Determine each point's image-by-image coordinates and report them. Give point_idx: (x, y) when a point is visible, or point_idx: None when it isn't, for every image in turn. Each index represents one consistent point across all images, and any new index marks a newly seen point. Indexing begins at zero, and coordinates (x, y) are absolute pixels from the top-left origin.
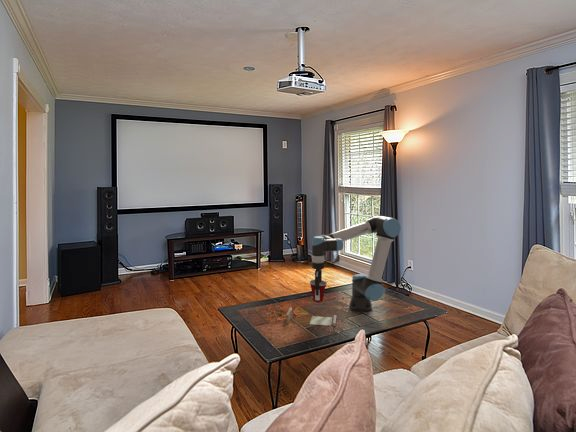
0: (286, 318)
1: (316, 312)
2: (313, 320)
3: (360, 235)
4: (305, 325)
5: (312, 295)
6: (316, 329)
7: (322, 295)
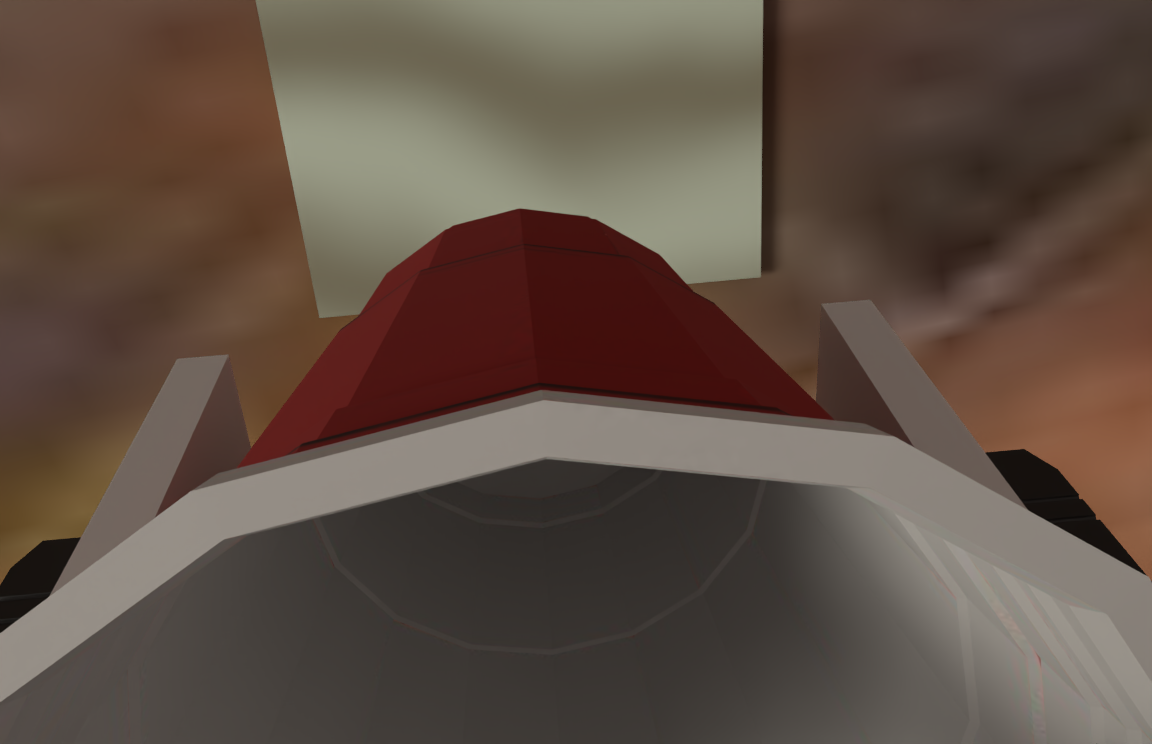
0: None
1: (28, 276)
2: None
3: None
4: (814, 333)
5: (650, 640)
6: (988, 86)
7: (677, 290)
